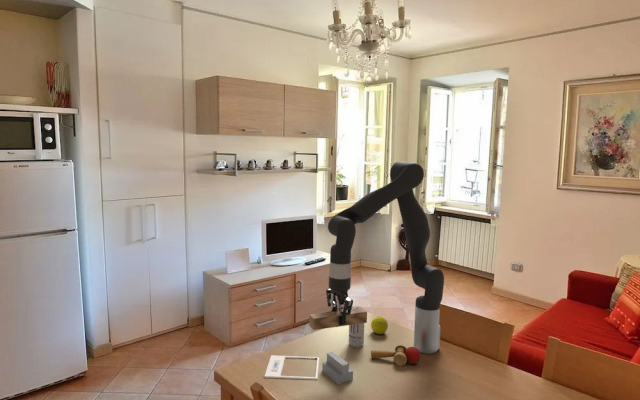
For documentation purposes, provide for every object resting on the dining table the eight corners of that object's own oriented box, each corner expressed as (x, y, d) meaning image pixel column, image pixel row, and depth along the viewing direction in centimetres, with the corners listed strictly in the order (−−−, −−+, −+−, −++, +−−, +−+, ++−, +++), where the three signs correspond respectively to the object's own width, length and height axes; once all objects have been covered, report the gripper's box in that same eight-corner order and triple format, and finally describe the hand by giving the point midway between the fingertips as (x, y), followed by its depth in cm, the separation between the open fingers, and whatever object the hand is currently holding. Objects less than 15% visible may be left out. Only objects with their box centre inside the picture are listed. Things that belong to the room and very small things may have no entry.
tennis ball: (370, 329, 185) (371, 313, 184) (387, 330, 184) (387, 314, 183) (371, 336, 178) (371, 320, 177) (387, 337, 177) (388, 321, 176)
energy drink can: (346, 346, 168) (347, 310, 166) (351, 340, 174) (352, 305, 172) (361, 349, 166) (362, 312, 164) (365, 343, 171) (366, 307, 170)
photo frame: (271, 354, 159) (319, 356, 158) (271, 357, 159) (319, 359, 159) (264, 375, 145) (317, 377, 144) (264, 378, 145) (317, 380, 144)
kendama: (370, 367, 155) (421, 367, 151) (369, 349, 156) (419, 348, 152) (373, 361, 163) (421, 360, 159) (371, 344, 163) (419, 343, 159)
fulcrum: (336, 366, 153) (336, 350, 152) (352, 379, 145) (353, 362, 144) (322, 370, 150) (322, 354, 149) (338, 384, 141) (338, 367, 141)
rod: (361, 318, 153) (361, 307, 152) (366, 322, 149) (367, 311, 149) (309, 325, 146) (309, 314, 145) (313, 330, 142) (313, 318, 141)
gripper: (361, 279, 141) (359, 328, 143) (337, 268, 153) (336, 314, 155) (342, 282, 137) (340, 332, 139) (319, 270, 150) (318, 317, 152)
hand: (338, 322), depth 147 cm, fingers closed on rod, 4 cm apart
